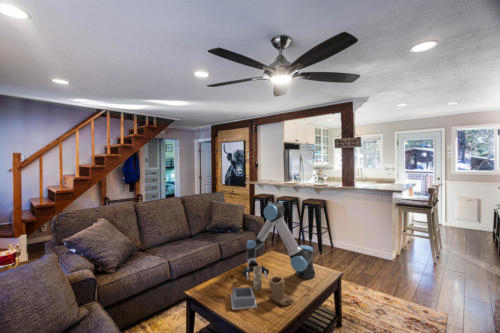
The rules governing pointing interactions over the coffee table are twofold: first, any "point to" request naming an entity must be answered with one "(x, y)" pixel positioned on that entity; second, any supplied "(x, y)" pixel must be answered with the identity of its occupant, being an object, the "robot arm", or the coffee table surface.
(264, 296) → the coffee table surface
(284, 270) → the coffee table surface
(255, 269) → the peg
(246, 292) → the well
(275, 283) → the tan boot
